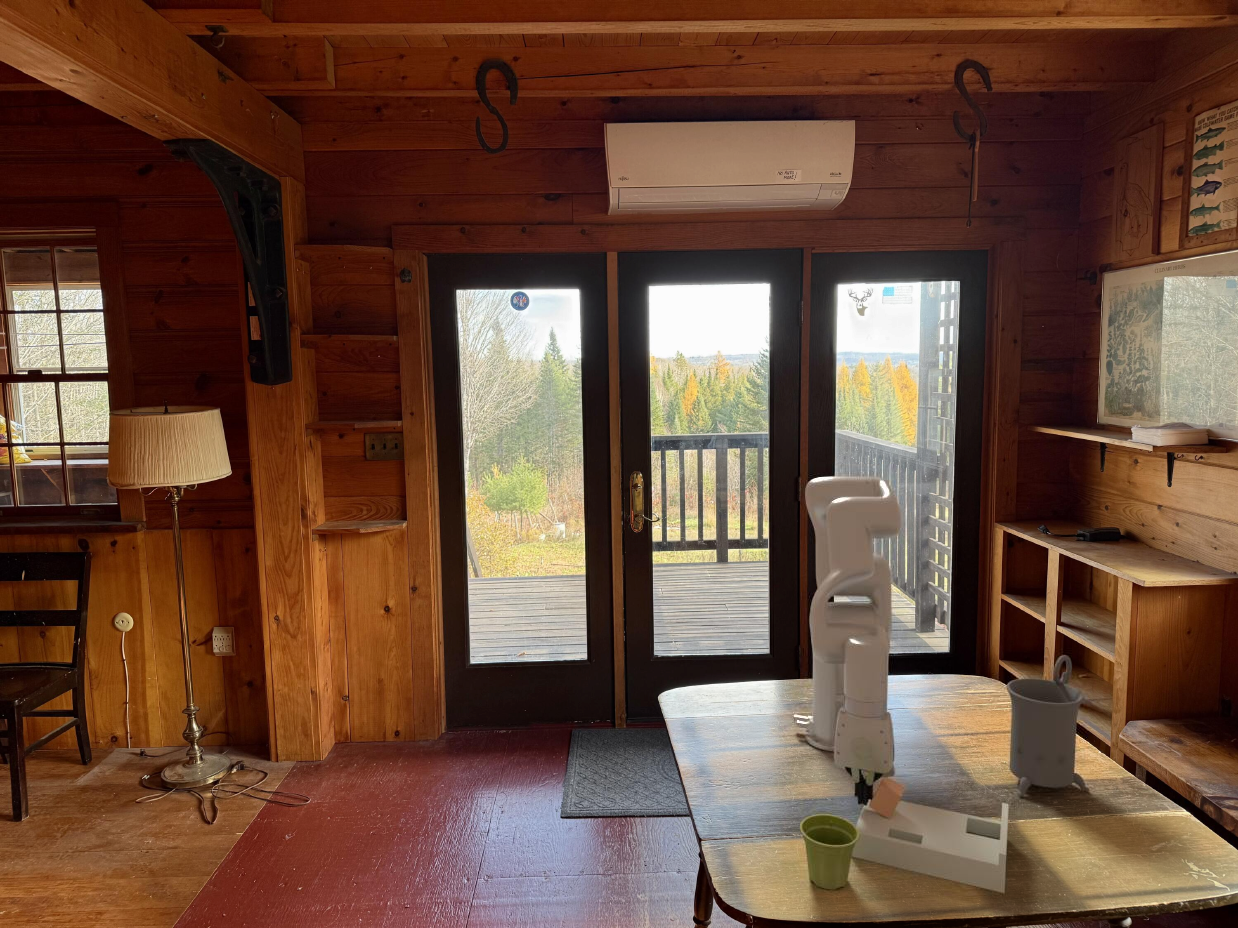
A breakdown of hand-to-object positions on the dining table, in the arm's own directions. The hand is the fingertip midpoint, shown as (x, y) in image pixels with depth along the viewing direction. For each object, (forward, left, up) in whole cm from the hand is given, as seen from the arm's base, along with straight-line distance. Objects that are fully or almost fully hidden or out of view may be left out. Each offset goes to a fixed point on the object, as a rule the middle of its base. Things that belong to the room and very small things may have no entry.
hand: (863, 801), depth 152 cm
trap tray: (+12, -3, -5) cm, 13 cm away
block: (+3, 0, -1) cm, 3 cm away
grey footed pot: (+30, +31, -5) cm, 43 cm away
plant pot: (-2, -19, -5) cm, 20 cm away
